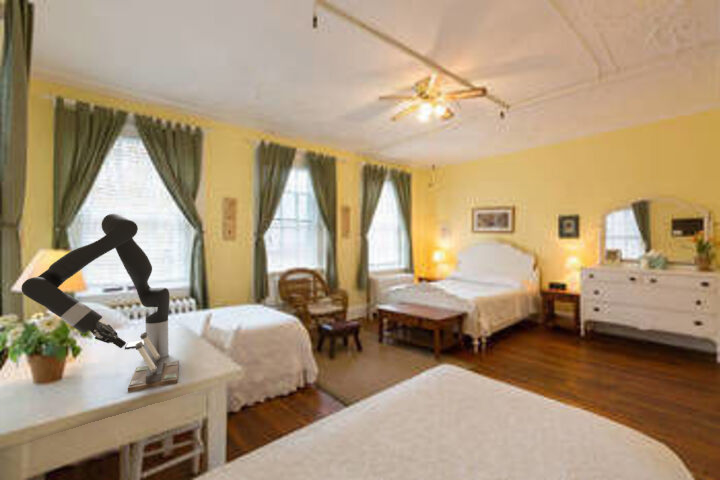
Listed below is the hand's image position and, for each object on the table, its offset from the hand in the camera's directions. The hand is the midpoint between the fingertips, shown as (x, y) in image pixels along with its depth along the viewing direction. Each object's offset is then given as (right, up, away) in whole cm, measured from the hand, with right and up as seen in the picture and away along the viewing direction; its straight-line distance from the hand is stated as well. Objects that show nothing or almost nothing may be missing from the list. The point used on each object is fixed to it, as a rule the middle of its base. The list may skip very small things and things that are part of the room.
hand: (123, 345), depth 121 cm
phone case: (-26, -17, +50) cm, 59 cm away
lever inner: (+2, -11, +17) cm, 20 cm away
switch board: (+5, -16, +11) cm, 20 cm away
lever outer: (+8, -11, +5) cm, 15 cm away
